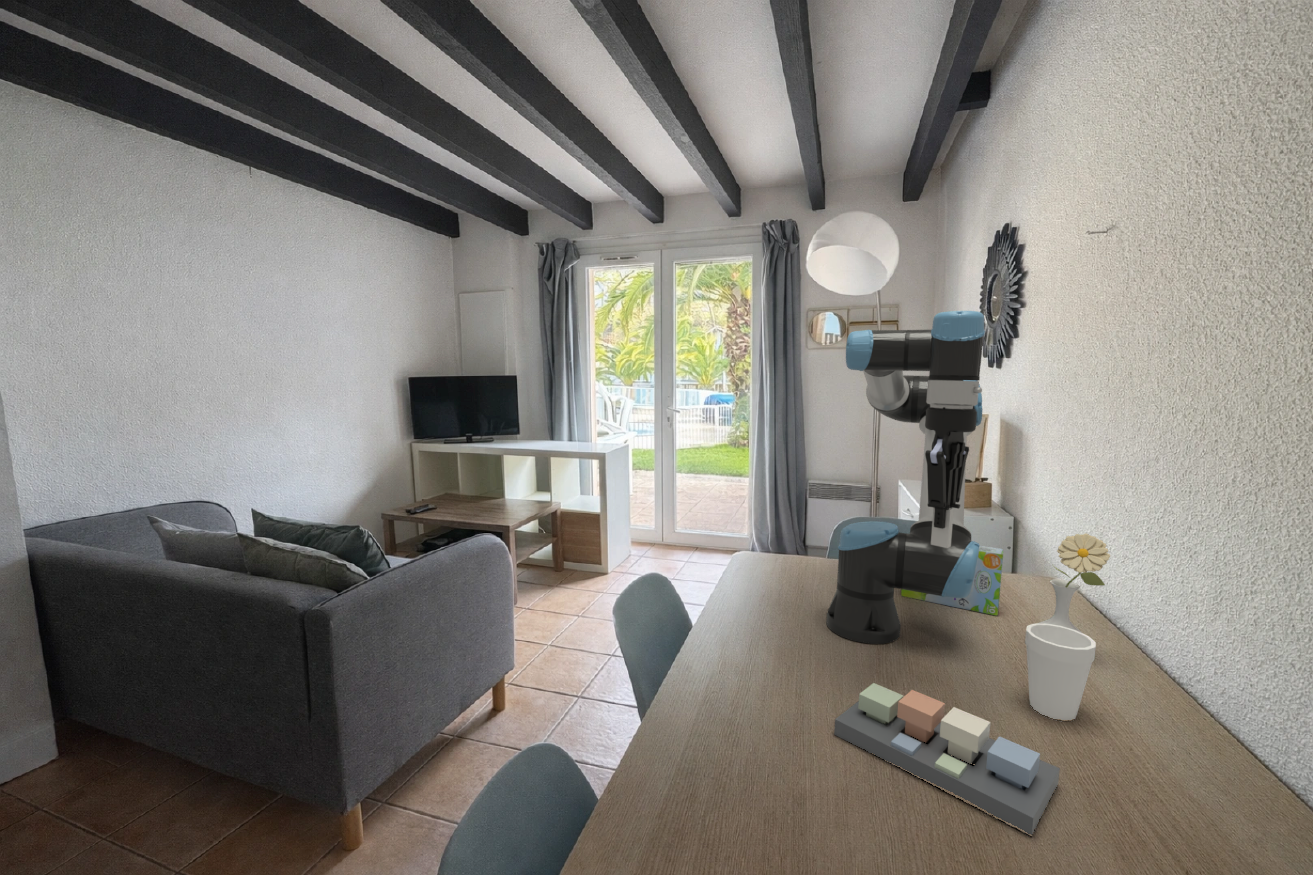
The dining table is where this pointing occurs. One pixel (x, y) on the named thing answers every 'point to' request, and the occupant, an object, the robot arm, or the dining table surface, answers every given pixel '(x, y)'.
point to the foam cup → (1057, 668)
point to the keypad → (951, 768)
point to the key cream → (964, 734)
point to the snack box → (975, 585)
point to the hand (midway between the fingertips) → (940, 545)
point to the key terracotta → (920, 714)
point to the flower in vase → (1082, 558)
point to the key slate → (1013, 763)
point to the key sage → (879, 703)
